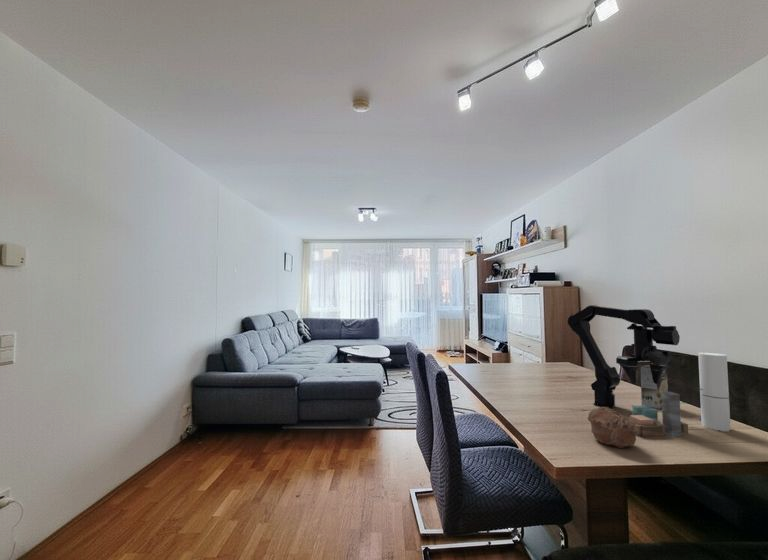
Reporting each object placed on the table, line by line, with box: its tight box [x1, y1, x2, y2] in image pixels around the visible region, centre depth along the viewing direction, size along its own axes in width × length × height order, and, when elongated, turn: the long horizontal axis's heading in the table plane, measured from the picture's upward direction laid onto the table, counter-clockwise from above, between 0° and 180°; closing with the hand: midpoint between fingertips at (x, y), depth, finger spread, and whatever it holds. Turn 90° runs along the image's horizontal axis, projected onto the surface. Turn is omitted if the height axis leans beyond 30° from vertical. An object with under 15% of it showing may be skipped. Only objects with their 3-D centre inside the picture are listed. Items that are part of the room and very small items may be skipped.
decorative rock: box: [587, 406, 639, 449], centre depth 103 cm, size 13×11×10 cm
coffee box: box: [639, 364, 669, 410], centre depth 141 cm, size 9×6×16 cm
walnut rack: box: [635, 421, 689, 437], centre depth 113 cm, size 8×18×3 cm, turn 96°
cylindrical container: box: [697, 351, 732, 432], centre depth 117 cm, size 7×7×25 cm
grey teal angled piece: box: [632, 391, 684, 437], centre depth 116 cm, size 14×5×13 cm, turn 6°
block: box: [629, 414, 654, 425], centre depth 113 cm, size 4×4×4 cm
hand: (644, 383), depth 128 cm, fingers open, 9 cm apart
